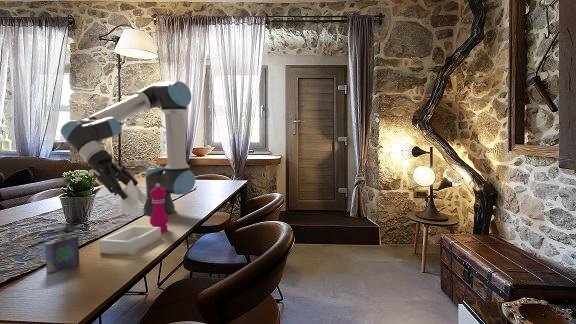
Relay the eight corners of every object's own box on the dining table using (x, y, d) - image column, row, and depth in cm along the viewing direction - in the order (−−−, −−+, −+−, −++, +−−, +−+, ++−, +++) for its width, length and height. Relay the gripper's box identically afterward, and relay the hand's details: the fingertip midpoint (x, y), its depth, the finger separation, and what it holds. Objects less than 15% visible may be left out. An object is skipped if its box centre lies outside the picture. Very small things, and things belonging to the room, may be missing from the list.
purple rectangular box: (49, 274, 98) (46, 238, 97) (44, 272, 100) (41, 237, 99) (81, 263, 106) (79, 230, 105) (76, 262, 108) (74, 229, 107)
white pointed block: (119, 179, 122) (136, 178, 125) (121, 212, 123) (137, 210, 126) (121, 181, 117) (138, 180, 120) (122, 215, 118) (140, 213, 121)
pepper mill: (162, 234, 137) (160, 185, 135) (146, 232, 138) (144, 184, 136) (172, 228, 144) (170, 182, 142) (156, 227, 145) (155, 181, 143)
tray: (133, 236, 133) (132, 225, 133) (160, 238, 131) (160, 227, 131) (100, 253, 115) (99, 240, 115) (131, 255, 113) (131, 242, 113)
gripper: (108, 161, 132) (148, 204, 131) (69, 166, 114) (115, 216, 113) (120, 147, 131) (160, 191, 130) (82, 150, 113) (129, 201, 111)
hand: (139, 202), depth 121 cm, fingers closed on white pointed block, 6 cm apart
